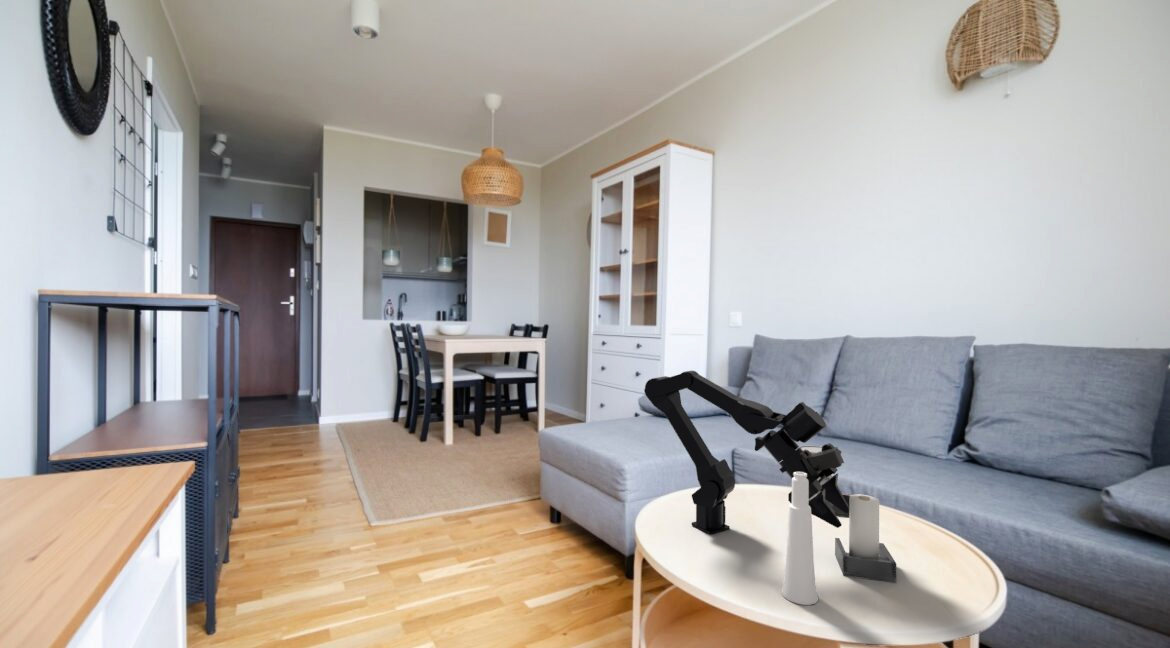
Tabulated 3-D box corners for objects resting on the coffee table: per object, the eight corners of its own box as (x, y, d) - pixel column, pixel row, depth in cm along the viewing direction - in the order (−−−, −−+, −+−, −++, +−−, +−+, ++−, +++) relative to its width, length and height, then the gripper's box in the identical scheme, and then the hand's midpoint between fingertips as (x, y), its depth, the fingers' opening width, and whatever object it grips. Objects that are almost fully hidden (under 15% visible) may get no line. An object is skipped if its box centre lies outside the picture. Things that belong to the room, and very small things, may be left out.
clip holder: (896, 582, 95) (896, 563, 95) (843, 575, 98) (843, 556, 98) (883, 560, 104) (883, 543, 104) (834, 554, 106) (835, 537, 106)
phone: (851, 495, 140) (867, 515, 126) (851, 499, 140) (867, 520, 126) (820, 493, 142) (833, 512, 128) (820, 497, 142) (833, 517, 128)
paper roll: (859, 570, 98) (859, 502, 98) (843, 558, 103) (844, 493, 103) (884, 569, 98) (885, 501, 98) (868, 557, 103) (868, 492, 103)
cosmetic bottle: (774, 591, 92) (774, 470, 92) (798, 584, 94) (799, 466, 94) (800, 608, 86) (801, 480, 86) (825, 600, 89) (826, 475, 89)
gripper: (806, 441, 98) (870, 512, 92) (828, 425, 113) (883, 485, 107) (764, 473, 103) (822, 542, 97) (790, 454, 118) (841, 513, 111)
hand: (844, 519), depth 103 cm, fingers open, 9 cm apart
